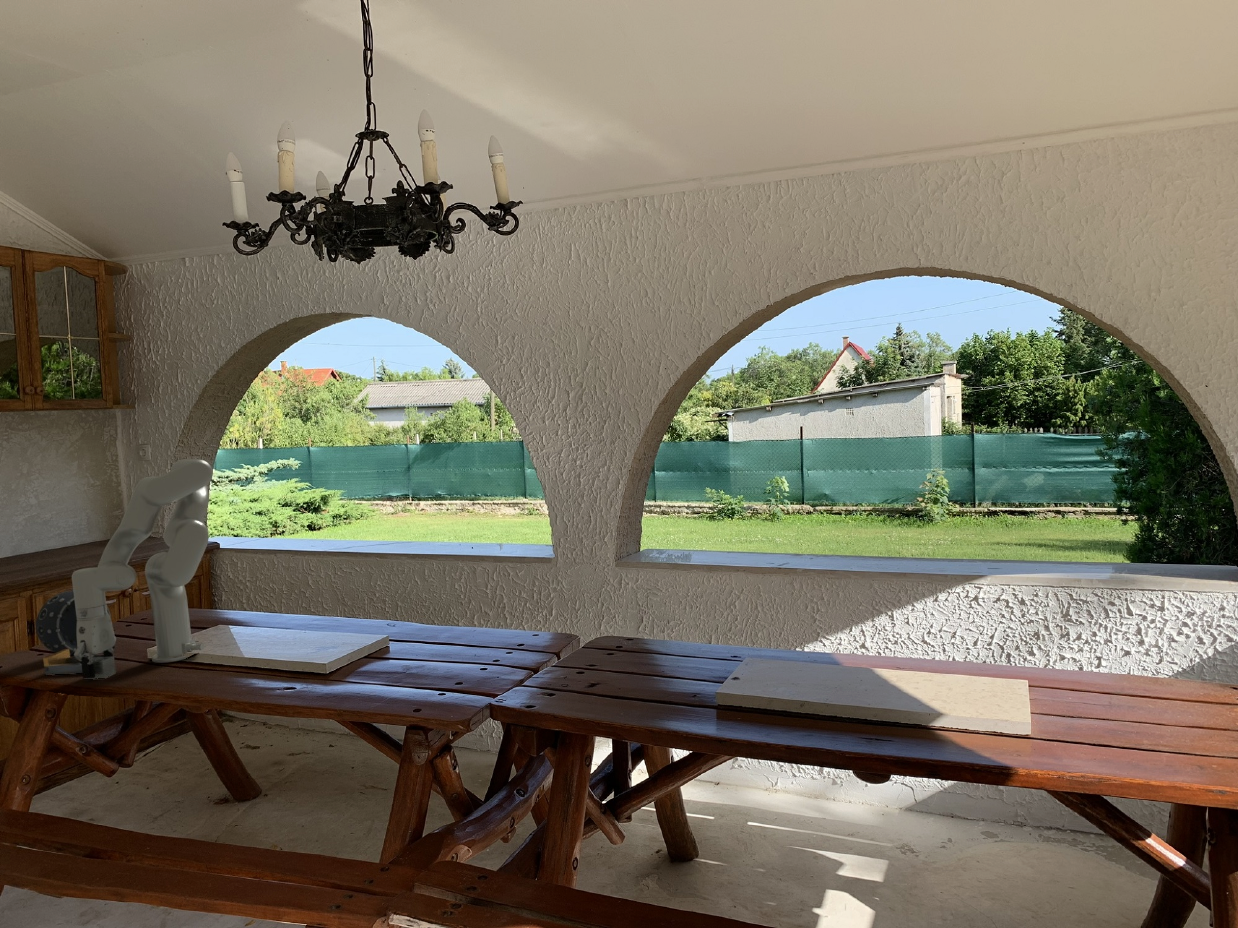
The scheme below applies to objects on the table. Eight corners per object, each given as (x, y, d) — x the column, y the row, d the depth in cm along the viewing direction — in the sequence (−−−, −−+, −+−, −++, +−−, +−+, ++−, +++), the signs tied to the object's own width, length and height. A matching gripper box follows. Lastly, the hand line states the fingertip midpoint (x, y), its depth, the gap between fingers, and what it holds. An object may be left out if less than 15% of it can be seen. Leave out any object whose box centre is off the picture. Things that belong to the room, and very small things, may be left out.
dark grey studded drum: (119, 645, 288) (111, 584, 286) (57, 664, 270) (49, 599, 268) (97, 643, 293) (89, 583, 291) (35, 662, 275) (26, 598, 273)
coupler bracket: (111, 663, 266) (109, 646, 266) (91, 673, 257) (89, 655, 257) (66, 665, 268) (64, 648, 267) (45, 675, 259) (43, 658, 258)
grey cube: (116, 673, 256) (113, 656, 255) (104, 679, 251) (102, 661, 250) (94, 674, 256) (91, 657, 256) (82, 680, 251) (80, 662, 251)
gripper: (83, 619, 243) (91, 682, 244) (123, 604, 260) (130, 663, 262) (57, 620, 244) (65, 683, 245) (99, 605, 261) (106, 664, 262)
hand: (99, 672), depth 253 cm, fingers open, 7 cm apart
